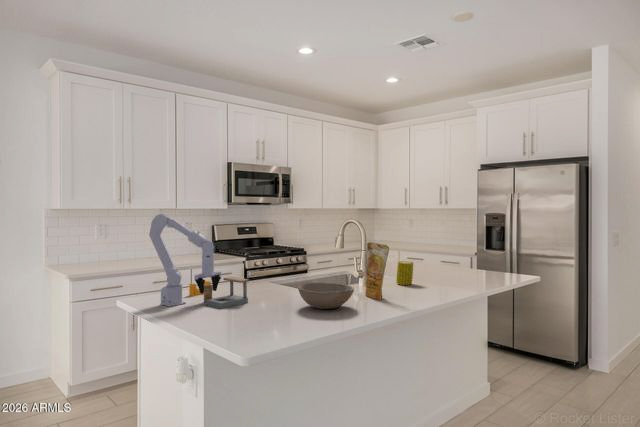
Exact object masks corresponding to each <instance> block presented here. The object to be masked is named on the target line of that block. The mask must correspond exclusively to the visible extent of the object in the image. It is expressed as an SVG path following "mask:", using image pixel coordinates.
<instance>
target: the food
mask: <svg viewBox="0 0 640 427" xmlns="http://www.w3.org/2000/svg"><path fill="white" fill-rule="evenodd" d="M413 273H414V261H408V260H401V261H399V260H398V262H397V269H396V281H395V282H396V284H397V285H399V284H400V285H399V286H408V285H410V284H411V285H412V284H413V283H412V282H413V277H414V276H413V275H414V274H413Z"/></svg>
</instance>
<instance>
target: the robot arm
mask: <svg viewBox="0 0 640 427" xmlns="http://www.w3.org/2000/svg"><path fill="white" fill-rule="evenodd" d="M165 227H166V228H170V229H175V230H176V231H178V232H180V234H183V235H184V236H186V237H187V240H188V241H189V242H190V243H192V244H193V245H194V246H196V247H197V248H201V250H202V255H201V273H198V274H194V276H193V277H194V282H195V284H196V286H197V287H198V289H199V291H200V293H204V283H205V281H206V280H205V279H206V278H210V280H211V283H212V284H211V285H212V292H213V291H214V292H216V291H217V289H218V285H219V283H220V282H221V279H222V271H215V255H214V254H215V253H214V252H215V251H214V250H215V244H214V242H213V241H212V240H211V239H209V238H208V237H207V236H204V235H203V234H201V232H200V231H198V230H190V229H189V228H187V227H186V226H184V225H183V224H182V223H180V222H179V221H177V220H176V219H174V218H172V217H170V216H167V215H166V214H164V213H159V214H157V215H155V216H154V218H152V221H151V222H150V228H149V233H148V234H149V235H148V236H149V239H150V241H151V242H152V244H153V247H154V249H155V251H156V253H157V256H158V257H159V260H160V262H161V264H162V267H163V269H164V273H165V274H166V283H167V284H166V285H165V286H163V287H162V288H161V289H160V303H159V305H161V306H165V307H174V306H179V305H183V304H186V303H187V302H186V301H183V283H181V281H182V273H181V272H180V271H179V270H178V269H177V267H176V265H175V263H174V262H173V260H172V257H171V256H170V253H169V250H168V249H167V247H166V244H165V243H164V239H163V238H162V236H161V235H162V232H163V230H164V229H165Z"/></svg>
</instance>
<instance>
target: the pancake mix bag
mask: <svg viewBox="0 0 640 427" xmlns="http://www.w3.org/2000/svg"><path fill="white" fill-rule="evenodd" d="M389 251H390V247H389V246H388V245H387V244H381V243H377V242H370V241H369V242H367V243H366V266H365V267H366V268H365V269H366V277H365V281H366V282H365V296H366V297H368V298H370V297H371V298H370V299H373V300H375V299H376V301H382V300H383V293H382V292H383V284H384V277H385V270H386V266H387V260H388V255H389V253H390V252H389Z"/></svg>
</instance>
